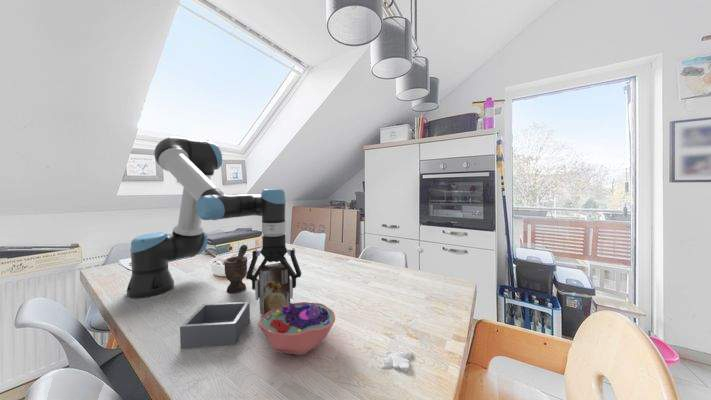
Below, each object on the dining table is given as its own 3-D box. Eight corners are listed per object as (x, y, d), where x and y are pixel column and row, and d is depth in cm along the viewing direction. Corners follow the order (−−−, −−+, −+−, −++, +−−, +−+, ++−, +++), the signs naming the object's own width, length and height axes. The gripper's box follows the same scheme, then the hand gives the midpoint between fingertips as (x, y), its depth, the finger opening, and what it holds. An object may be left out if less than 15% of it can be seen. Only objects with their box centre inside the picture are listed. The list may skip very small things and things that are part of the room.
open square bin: (180, 348, 67) (179, 326, 66) (203, 322, 79) (203, 304, 79) (235, 344, 68) (235, 323, 68) (249, 319, 81) (249, 301, 81)
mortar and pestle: (258, 288, 107) (257, 241, 106) (243, 296, 98) (242, 246, 97) (235, 284, 110) (235, 239, 109) (220, 292, 102) (218, 244, 101)
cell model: (269, 329, 76) (269, 293, 75) (335, 327, 77) (335, 291, 77) (249, 370, 59) (249, 323, 58) (334, 367, 60) (335, 321, 60)
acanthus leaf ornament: (412, 356, 65) (412, 349, 65) (412, 376, 58) (413, 368, 58) (383, 352, 66) (383, 345, 66) (380, 371, 60) (380, 363, 60)
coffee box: (285, 304, 92) (284, 261, 91) (290, 312, 86) (290, 266, 86) (258, 311, 87) (258, 265, 86) (263, 319, 81) (262, 271, 80)
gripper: (234, 237, 80) (235, 304, 81) (307, 235, 83) (308, 300, 84) (241, 232, 87) (243, 294, 89) (309, 231, 90) (309, 291, 91)
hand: (274, 297), depth 86 cm, fingers closed on coffee box, 11 cm apart
